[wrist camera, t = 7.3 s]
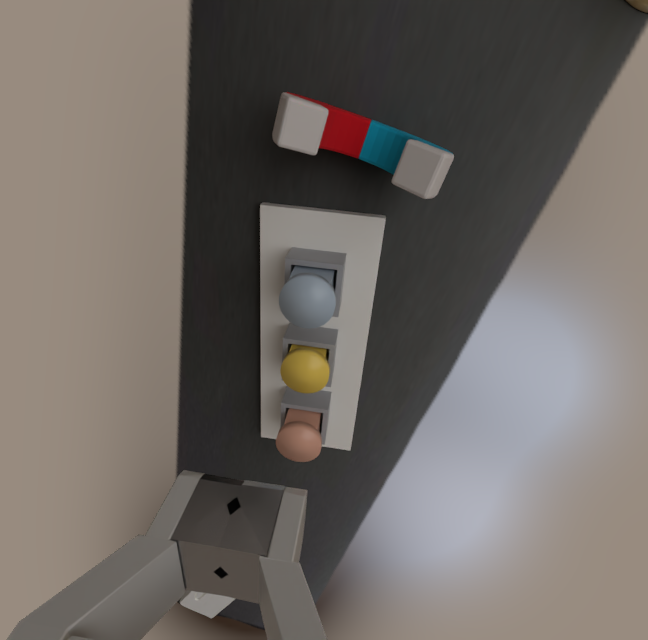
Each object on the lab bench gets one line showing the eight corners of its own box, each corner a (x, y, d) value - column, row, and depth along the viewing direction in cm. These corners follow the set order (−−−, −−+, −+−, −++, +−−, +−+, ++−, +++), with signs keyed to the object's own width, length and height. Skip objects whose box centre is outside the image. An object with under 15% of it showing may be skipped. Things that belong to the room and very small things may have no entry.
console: (262, 202, 35) (249, 212, 32) (385, 215, 34) (386, 227, 31) (263, 430, 49) (254, 455, 45) (350, 444, 48) (348, 470, 44)
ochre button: (290, 326, 40) (280, 350, 36) (335, 331, 39) (330, 356, 35) (289, 363, 42) (279, 389, 38) (332, 369, 41) (326, 396, 38)
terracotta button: (285, 395, 42) (276, 425, 38) (328, 401, 42) (322, 432, 38) (284, 427, 45) (275, 458, 41) (324, 433, 44) (319, 465, 40)
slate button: (291, 254, 35) (279, 273, 31) (342, 260, 34) (337, 280, 30) (289, 301, 37) (278, 324, 33) (337, 307, 36) (332, 331, 33)
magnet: (441, 145, 31) (464, 160, 22) (426, 179, 33) (442, 206, 24) (301, 93, 31) (270, 88, 22) (292, 130, 32) (259, 140, 23)
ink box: (241, 533, 60) (212, 621, 50) (212, 518, 59) (176, 605, 49) (268, 505, 56) (243, 596, 45) (238, 489, 55) (204, 577, 45)
